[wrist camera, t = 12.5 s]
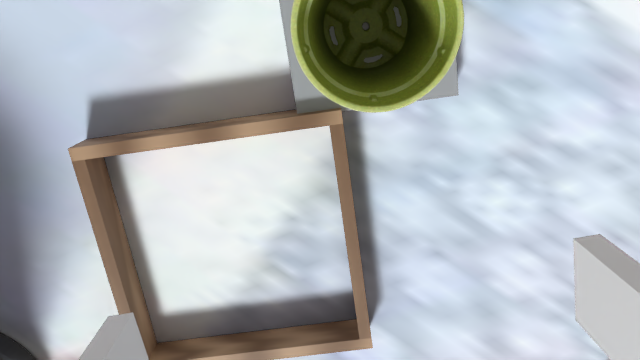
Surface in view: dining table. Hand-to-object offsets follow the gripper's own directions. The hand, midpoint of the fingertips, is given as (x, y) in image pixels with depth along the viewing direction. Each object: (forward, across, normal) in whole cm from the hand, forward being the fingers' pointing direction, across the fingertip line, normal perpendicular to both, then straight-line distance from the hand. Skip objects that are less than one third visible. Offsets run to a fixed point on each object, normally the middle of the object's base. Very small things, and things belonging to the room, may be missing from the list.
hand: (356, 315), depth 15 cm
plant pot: (+24, +4, +8) cm, 26 cm away
